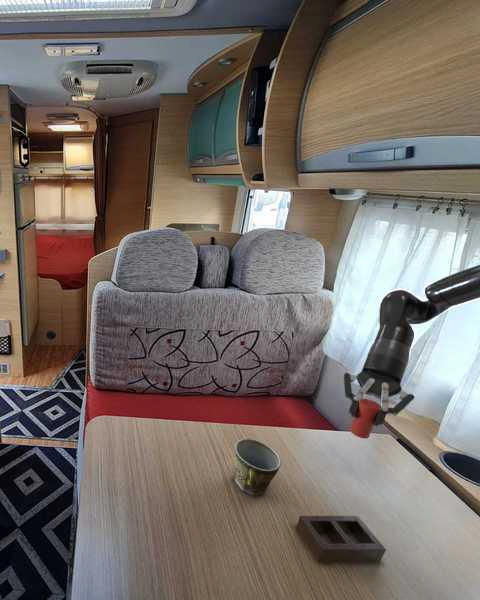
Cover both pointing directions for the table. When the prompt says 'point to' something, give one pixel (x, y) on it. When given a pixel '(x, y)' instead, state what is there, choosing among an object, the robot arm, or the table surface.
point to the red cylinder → (364, 418)
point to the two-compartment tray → (340, 539)
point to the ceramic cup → (255, 465)
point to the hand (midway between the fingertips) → (364, 420)
